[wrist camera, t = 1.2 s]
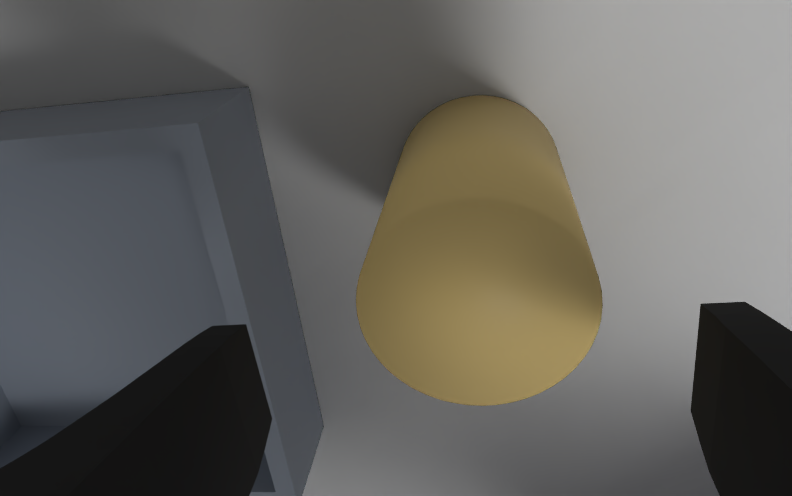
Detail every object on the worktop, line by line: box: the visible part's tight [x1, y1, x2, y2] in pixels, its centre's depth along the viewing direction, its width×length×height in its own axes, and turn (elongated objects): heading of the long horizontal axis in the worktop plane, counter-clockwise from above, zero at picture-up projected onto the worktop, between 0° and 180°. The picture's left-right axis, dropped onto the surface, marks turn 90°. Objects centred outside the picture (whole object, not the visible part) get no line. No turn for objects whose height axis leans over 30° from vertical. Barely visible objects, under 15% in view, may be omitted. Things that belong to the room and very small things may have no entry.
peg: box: [356, 95, 603, 406], centre depth 15 cm, size 4×4×7 cm
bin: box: [0, 87, 324, 496], centre depth 19 cm, size 12×12×4 cm
